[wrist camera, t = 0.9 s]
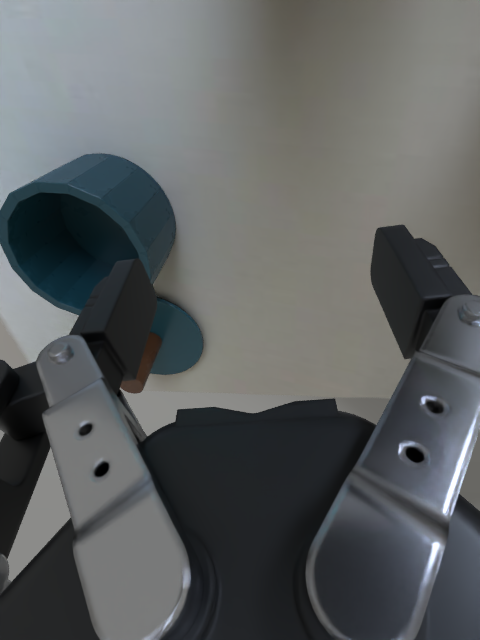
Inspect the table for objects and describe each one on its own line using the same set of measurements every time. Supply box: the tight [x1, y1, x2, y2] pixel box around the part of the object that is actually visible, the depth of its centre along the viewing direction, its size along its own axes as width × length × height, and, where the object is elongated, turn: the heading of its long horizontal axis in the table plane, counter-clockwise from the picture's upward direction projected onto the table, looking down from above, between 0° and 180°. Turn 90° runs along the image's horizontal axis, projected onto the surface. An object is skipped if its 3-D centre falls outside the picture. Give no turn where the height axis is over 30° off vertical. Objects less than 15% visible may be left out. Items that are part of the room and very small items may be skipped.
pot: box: [0, 153, 176, 315], centre depth 28 cm, size 11×11×8 cm
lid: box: [120, 298, 203, 393], centre depth 37 cm, size 12×12×8 cm
